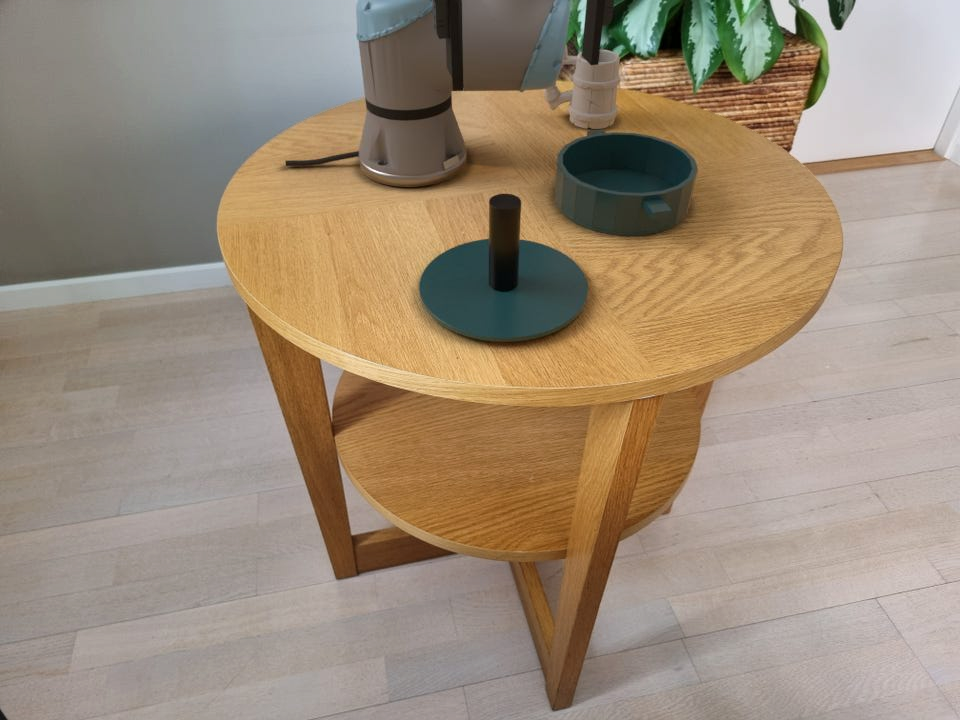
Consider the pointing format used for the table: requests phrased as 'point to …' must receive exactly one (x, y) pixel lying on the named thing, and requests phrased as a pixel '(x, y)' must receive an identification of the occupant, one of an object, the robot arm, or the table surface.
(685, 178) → the shallow round tub
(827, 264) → the table surface
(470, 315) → the lid
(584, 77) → the mug
